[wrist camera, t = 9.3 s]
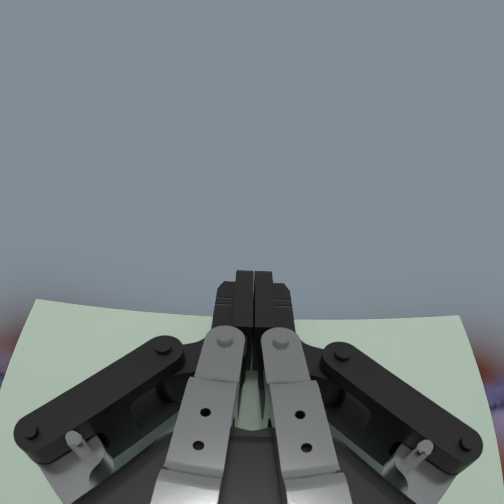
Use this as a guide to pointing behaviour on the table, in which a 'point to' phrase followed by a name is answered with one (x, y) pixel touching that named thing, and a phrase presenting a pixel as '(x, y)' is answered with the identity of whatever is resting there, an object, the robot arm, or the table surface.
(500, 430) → the table surface
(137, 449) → the panel
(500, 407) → the table surface
